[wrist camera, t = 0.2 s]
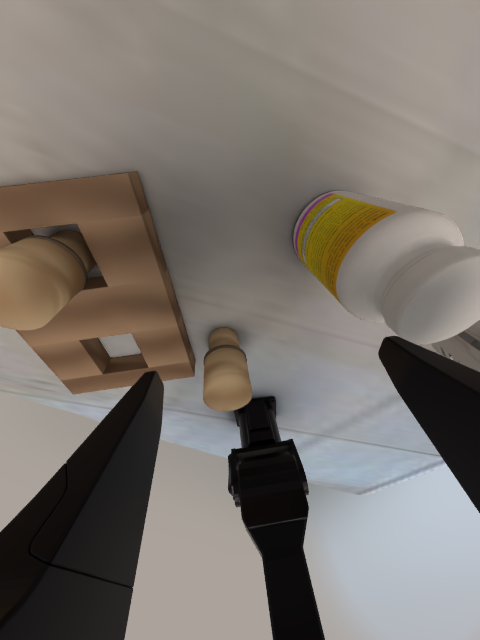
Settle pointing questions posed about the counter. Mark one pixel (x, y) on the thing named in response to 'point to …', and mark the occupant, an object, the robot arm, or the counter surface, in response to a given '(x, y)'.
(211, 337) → the oak leg
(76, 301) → the brown block with openings
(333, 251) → the supplement bottle
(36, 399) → the counter surface
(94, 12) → the counter surface
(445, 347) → the french press
